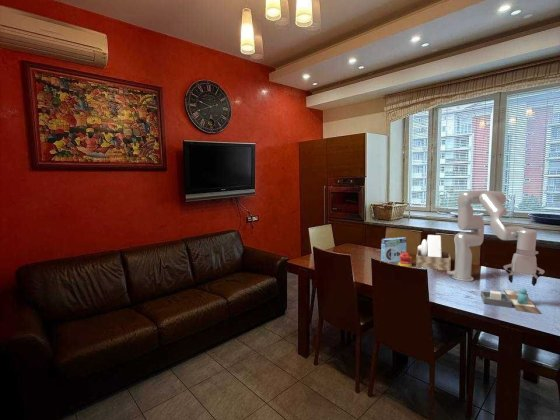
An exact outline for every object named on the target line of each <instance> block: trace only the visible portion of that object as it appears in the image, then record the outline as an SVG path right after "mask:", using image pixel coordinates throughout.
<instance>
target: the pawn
mask: <svg viewBox="0 0 560 420" xmlns="http://www.w3.org/2000/svg"><path fill="white" fill-rule="evenodd" d="M518 291H519V292H518V300H517V302H518V303H520V304H524V305H526V304H527V303H528V297H529V294H528V291H527V289H526V288H520V289H519V290H518Z"/></svg>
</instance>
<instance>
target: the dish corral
mask: <svg viewBox="0 0 560 420" xmlns="http://www.w3.org/2000/svg"><path fill="white" fill-rule="evenodd" d="M415 255H416V256H415V268H418V267H423V268H422V269H427V268H429V270H437V269H438V271H451V263H452V262H451V260H452V258H451V254H450V252H449V251H441V258H438V257H427V256H422V254H421V251H419V250H418V249H417V250H416V254H415Z"/></svg>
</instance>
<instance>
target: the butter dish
mask: <svg viewBox="0 0 560 420" xmlns="http://www.w3.org/2000/svg"><path fill="white" fill-rule="evenodd" d="M417 250H419V251H421V254H422V256H427V257H438V258H441V252H442V235H436V234H427V238H426V239H425V238H424V239H422V241H421V244H419V245H418V246H417Z"/></svg>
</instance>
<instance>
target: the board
mask: <svg viewBox="0 0 560 420" xmlns="http://www.w3.org/2000/svg"><path fill="white" fill-rule="evenodd" d="M503 292H504V294H507V295H508V297H509V299H510V300H511V302H512V305H513V307H514V309H515V310H516V311H518V312H525V313H531V314H539V315H542V312H541V311H540V309H538V307H537V306H536V305H535V304H534V302H533V301H532V300H531V299H530V297H529V296H528V303H527V304H526V305H524V304H520V303H518V302H517V300H518V292H519V290H510V289H503Z"/></svg>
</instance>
